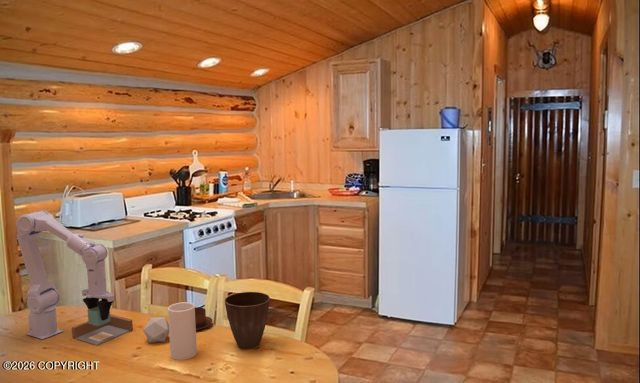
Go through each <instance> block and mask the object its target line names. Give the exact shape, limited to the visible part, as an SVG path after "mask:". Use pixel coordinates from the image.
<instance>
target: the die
mask: <svg viewBox="0 0 640 383" xmlns="http://www.w3.org/2000/svg"><path fill="white" fill-rule="evenodd" d="M142 332H143V333H144V335H145V336H146V339H147V341H148V342H149V343H165V341H166V340H167V337H168V336H169V320H167V317H165V316H163V317H160V316H158V317H150V319H148V321H147V323H146V324H145V326H144V328H143V330H142Z"/></svg>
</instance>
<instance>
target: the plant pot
mask: <svg viewBox="0 0 640 383" xmlns="http://www.w3.org/2000/svg"><path fill="white" fill-rule="evenodd" d="M270 299H271V297H270V296H269V294H267V293H264V292H259V291H258V292H257V291H244V292H237V293H232V294H230V295H228V296H227V297H225V298H224V305H225V311H226V316H227V319H228V323H229V327H230V331H231V333H232V335H233V338H234V341H235V343H236V346H237V347H238V348H239V349H243V350H251V349H255V348H257V347H259V345H260V344H261V341H262V338H263V335H264V332H265V329H266V324H267V321H268V320H267V319H268V314H269V308H270Z"/></svg>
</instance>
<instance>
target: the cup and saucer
mask: <svg viewBox="0 0 640 383" xmlns="http://www.w3.org/2000/svg"><path fill="white" fill-rule="evenodd" d="M212 323H213V319H212V318H211V317H210V316H207V315H206V308H205V307H199V306H198V307H197V306H196V307H195V324H196V331H201V330H204V329H206V328H208V327H209V326H211V325H212Z"/></svg>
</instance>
